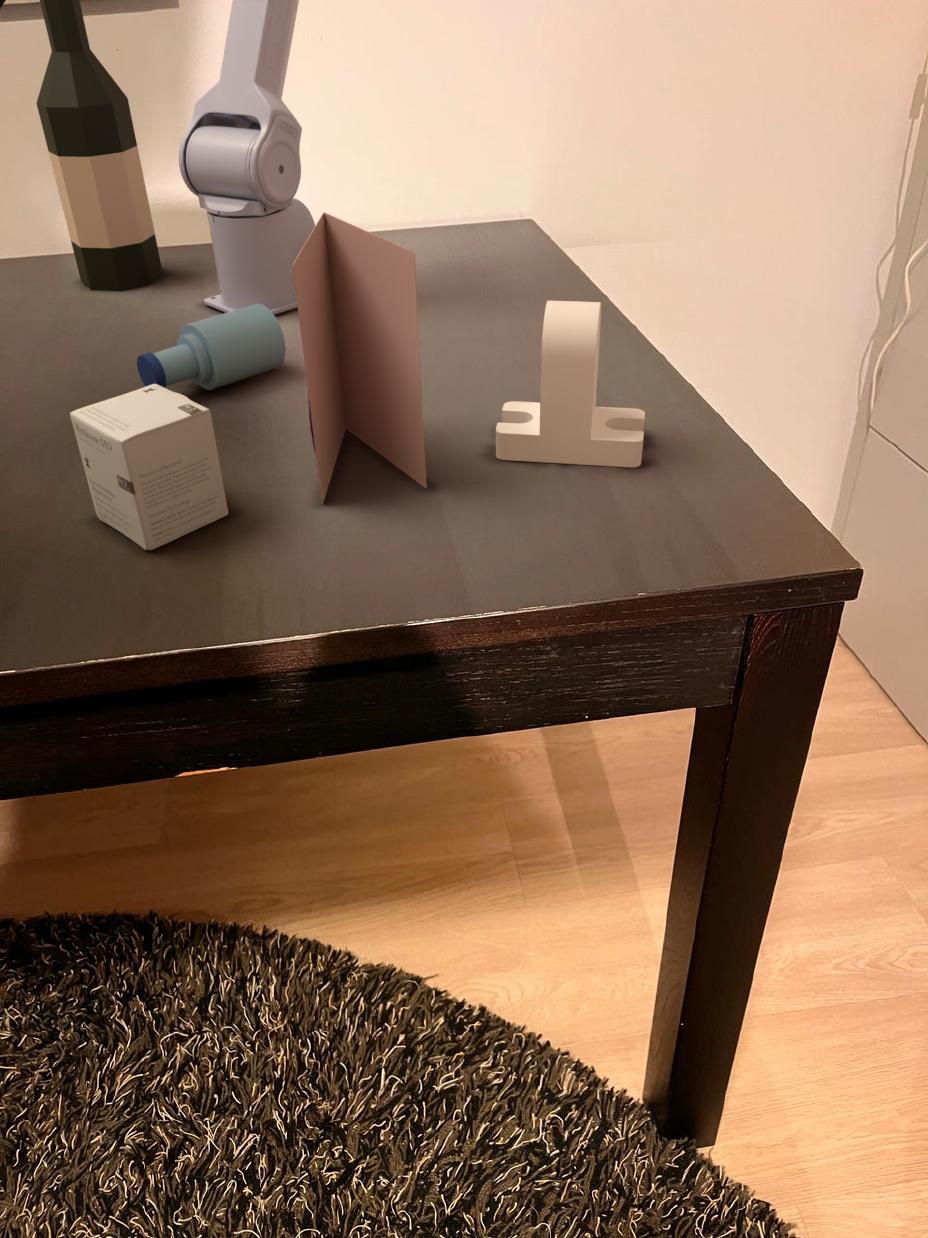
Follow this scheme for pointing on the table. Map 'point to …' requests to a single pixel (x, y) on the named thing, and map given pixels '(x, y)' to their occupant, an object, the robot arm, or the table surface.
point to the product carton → (151, 464)
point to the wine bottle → (95, 159)
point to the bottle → (218, 350)
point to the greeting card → (360, 345)
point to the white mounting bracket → (570, 401)
